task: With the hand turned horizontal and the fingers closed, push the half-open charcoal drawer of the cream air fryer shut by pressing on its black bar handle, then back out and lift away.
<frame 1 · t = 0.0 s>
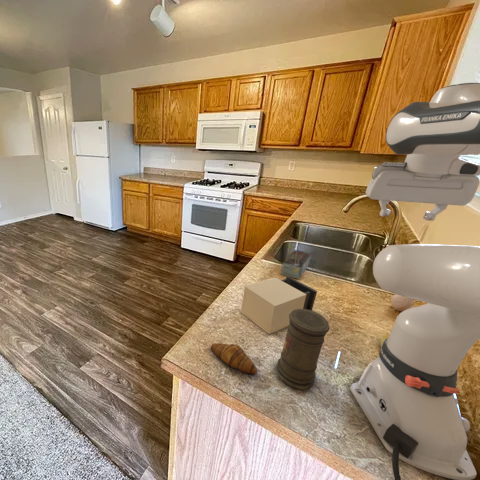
hand: (405, 217, 69), 39 cm above the counter, tool pointing down, fingers open, 8 cm apart
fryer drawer: (290, 297, 94), point 5 cm above the counter, slide at 5.5 cm
translucent blue-gray box: (295, 270, 125), on the counter
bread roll: (397, 350, 78), on the counter
container: (294, 376, 69), on the counter
croissant: (232, 362, 73), on the counter
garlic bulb: (398, 309, 97), on the counter
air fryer: (269, 316, 91), on the counter
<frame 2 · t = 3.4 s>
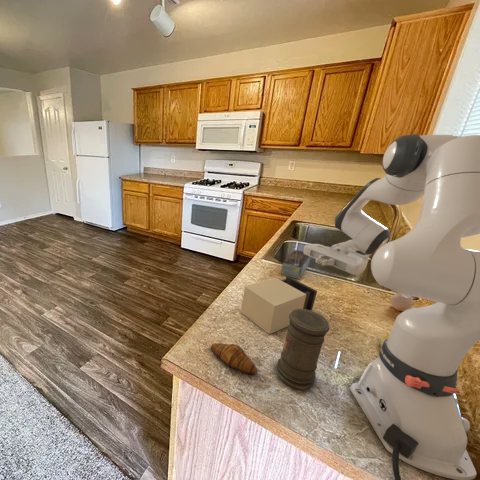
hand: (319, 262, 95), 16 cm above the counter, tool horizontal, fingers closed
nothing on the counter moved.
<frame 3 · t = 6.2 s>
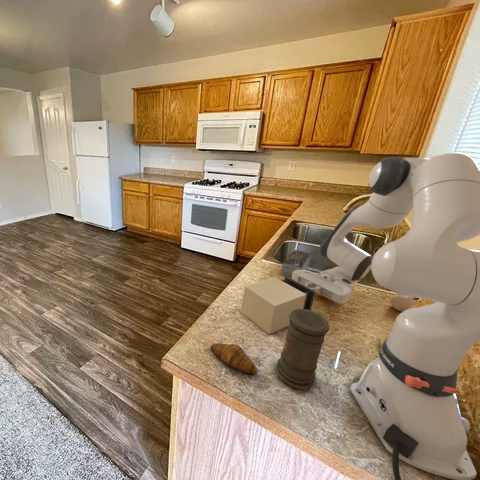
hand: (306, 289, 97), 6 cm above the counter, tool horizontal, fingers closed, pressing on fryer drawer
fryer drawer: (289, 297, 93), point 5 cm above the counter, slide at 4.7 cm, touching gripper
everything else where it was.
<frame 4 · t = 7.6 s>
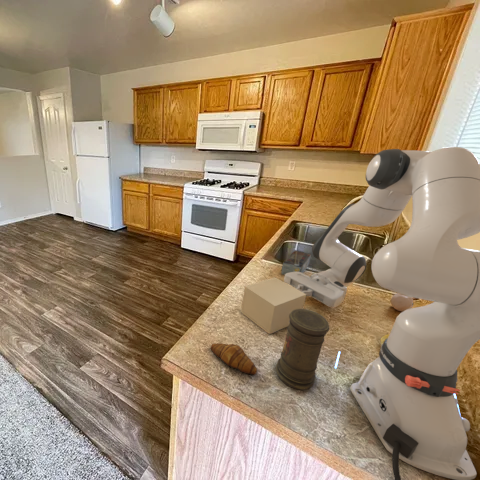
hand: (297, 292, 94), 6 cm above the counter, tool horizontal, fingers closed, pressing on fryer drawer
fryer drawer: (279, 300, 91), point 5 cm above the counter, slide at 0.0 cm, touching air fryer, gripper
everything else where it was.
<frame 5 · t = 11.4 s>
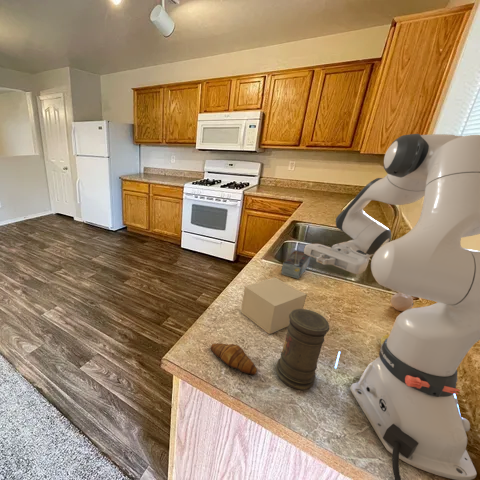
hand: (320, 261, 94), 17 cm above the counter, tool horizontal, fingers closed
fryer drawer: (279, 300, 91), point 5 cm above the counter, slide at 0.0 cm, touching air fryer
everything else where it was.
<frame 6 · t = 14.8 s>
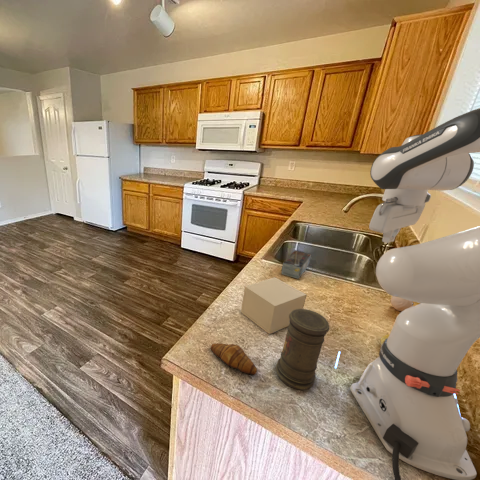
hand: (387, 241, 79), 29 cm above the counter, tool pointing down, fingers closed
nothing on the counter moved.
at the end: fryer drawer slide at 0.0 cm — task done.
